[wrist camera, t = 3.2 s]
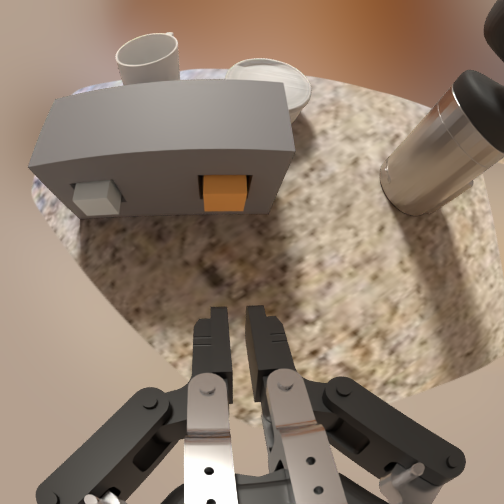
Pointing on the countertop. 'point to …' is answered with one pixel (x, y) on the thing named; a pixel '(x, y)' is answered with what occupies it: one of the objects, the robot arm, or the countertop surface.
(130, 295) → the countertop surface
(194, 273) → the countertop surface
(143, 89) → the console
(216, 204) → the orange button
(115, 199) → the white cube
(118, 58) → the mug
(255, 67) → the ramekin
